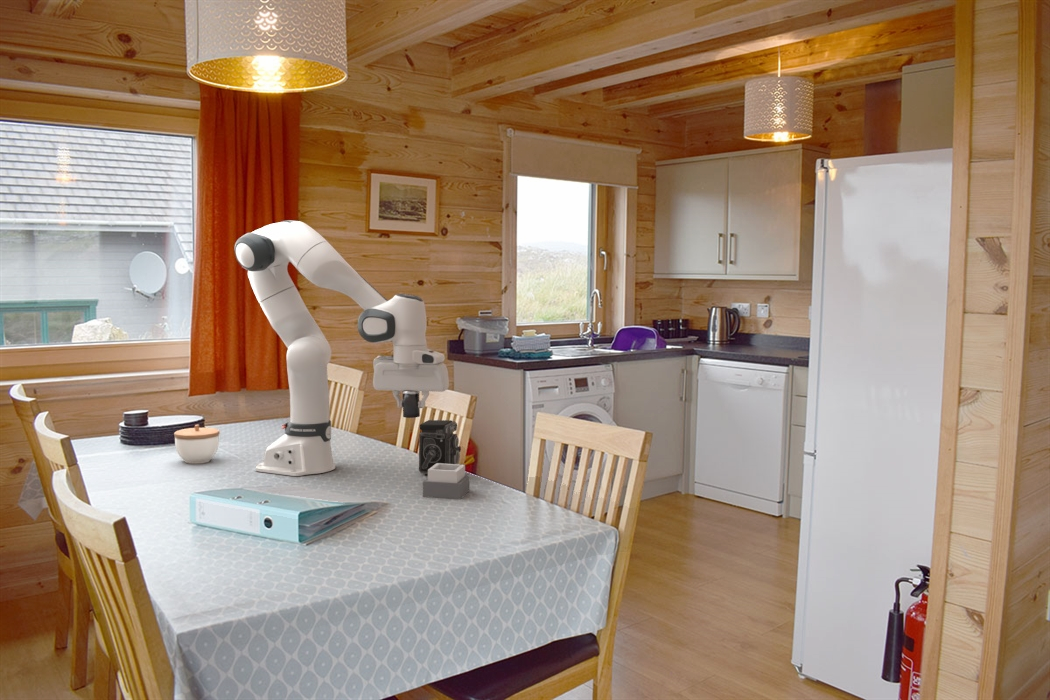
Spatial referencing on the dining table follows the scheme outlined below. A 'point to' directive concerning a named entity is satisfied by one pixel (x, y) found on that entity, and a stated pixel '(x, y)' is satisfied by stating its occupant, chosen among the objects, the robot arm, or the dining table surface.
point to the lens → (410, 404)
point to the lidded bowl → (197, 444)
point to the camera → (438, 444)
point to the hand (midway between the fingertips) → (411, 407)
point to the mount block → (446, 481)
